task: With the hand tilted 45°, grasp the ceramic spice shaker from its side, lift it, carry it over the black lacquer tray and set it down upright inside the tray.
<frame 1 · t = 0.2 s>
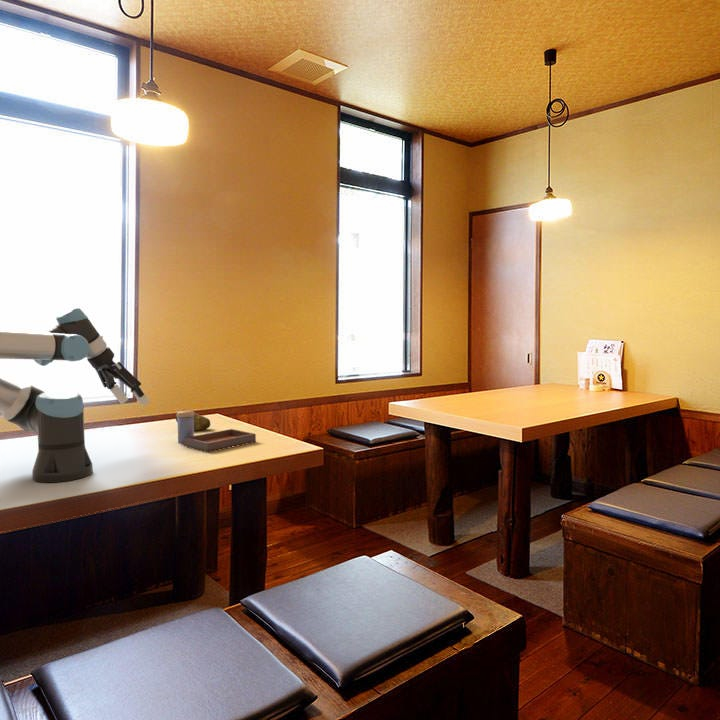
hand: (135, 402, 190), 16 cm above the table, tool tilted 35°, fingers open, 13 cm apart
potato: (192, 430, 225), on the table
tray: (220, 444, 200), on the table
shaker: (186, 442, 203), on the table
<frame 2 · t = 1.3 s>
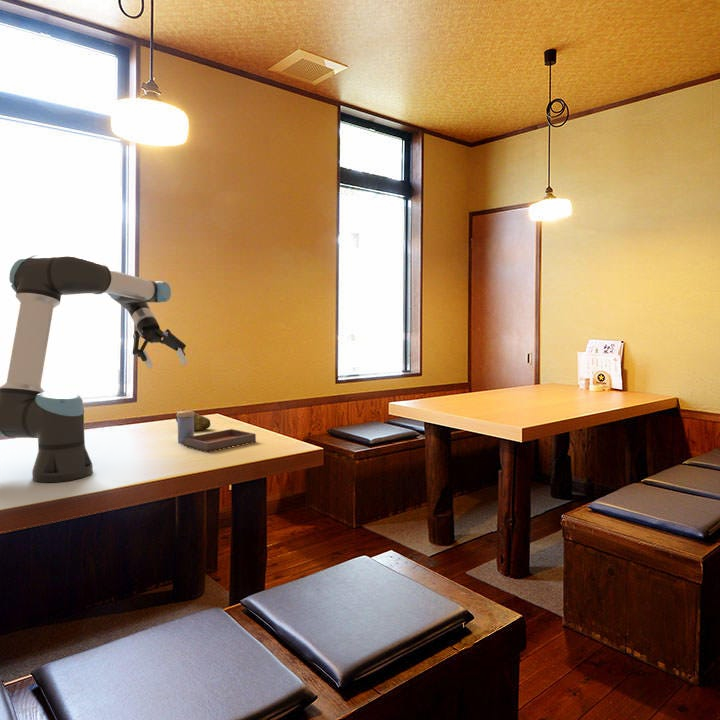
hand: (168, 365, 207), 27 cm above the table, tool tilted 45°, fingers open, 13 cm apart
nothing on the table moved.
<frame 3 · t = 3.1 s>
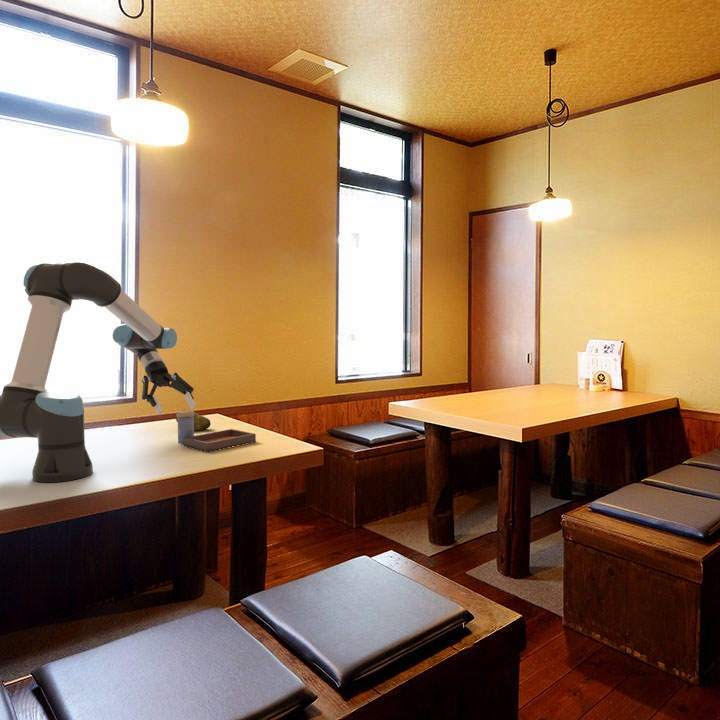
hand: (177, 410, 207), 11 cm above the table, tool tilted 45°, fingers open, 13 cm apart
nothing on the table moved.
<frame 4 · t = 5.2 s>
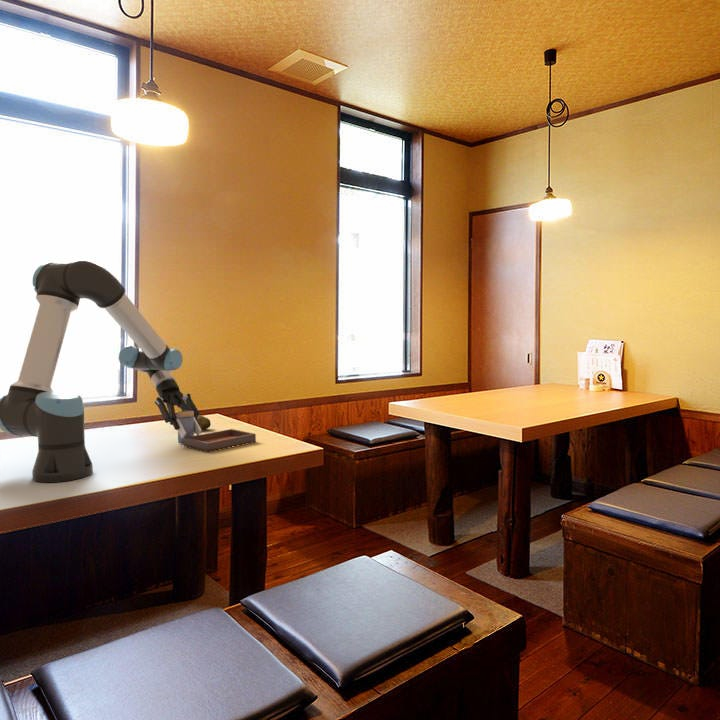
hand: (191, 434, 200), 3 cm above the table, tool tilted 45°, fingers closed on shaker, 5 cm apart
shaker: (186, 442, 203), on the table, touching gripper
everything else where it was.
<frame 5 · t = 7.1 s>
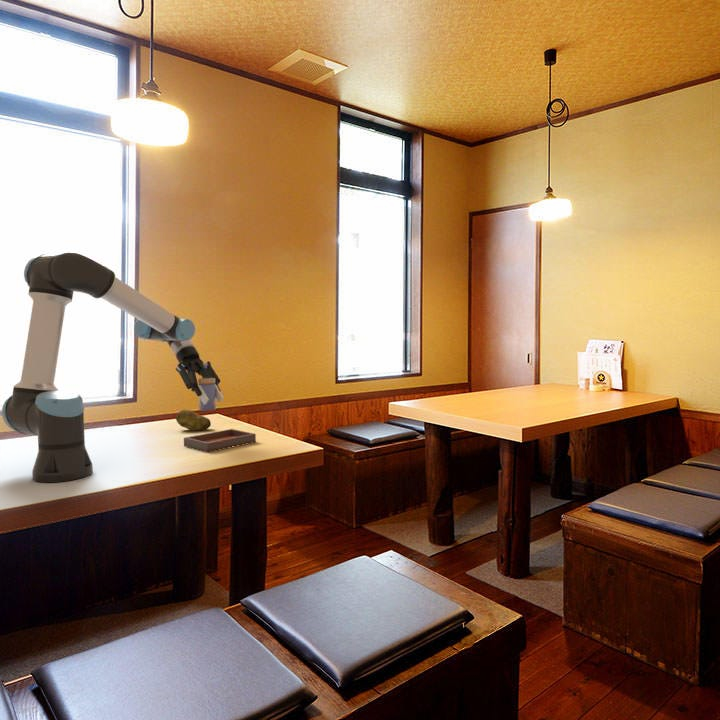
hand: (213, 401, 198), 15 cm above the table, tool tilted 45°, fingers closed on shaker, 5 cm apart
shaker: (207, 409, 201), point 12 cm above the table, touching gripper
everything else where it was.
when the fingers open (6 cm above the table, at t = 9.5 s): shaker drops 2 cm, resting on tray.
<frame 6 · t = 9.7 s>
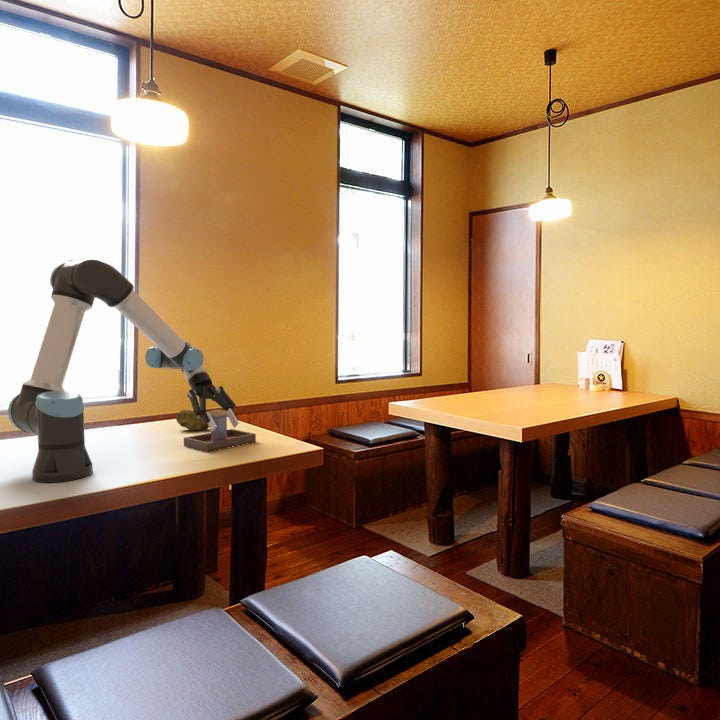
hand: (225, 427, 197), 7 cm above the table, tool tilted 45°, fingers open, 8 cm apart
shaker: (219, 442, 199), point 1 cm above the table, touching tray
everything else where it was.
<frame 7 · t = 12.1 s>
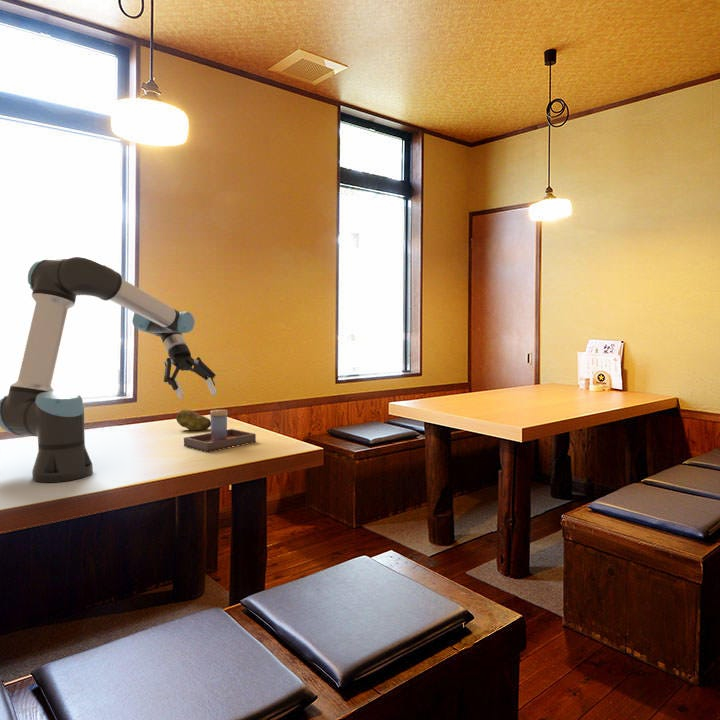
hand: (198, 395, 205), 16 cm above the table, tool tilted 40°, fingers open, 13 cm apart
nothing on the table moved.
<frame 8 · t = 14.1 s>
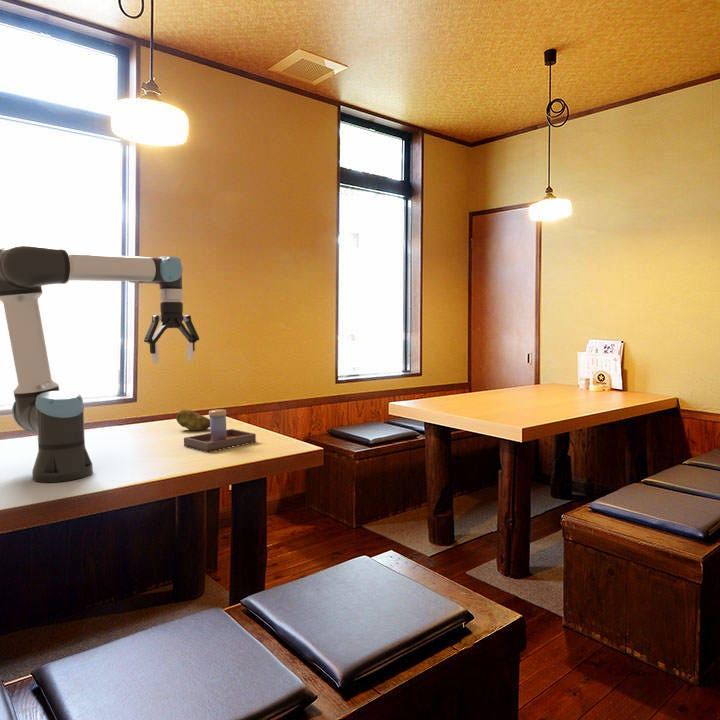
hand: (173, 361, 201), 29 cm above the table, tool pointing down, fingers open, 13 cm apart
nothing on the table moved.
at the end: shaker inside the target area on the tray (0.5 cm from its centre), point 0.9 cm above the tray's base; shaker tilted 2°; the gripper is holding nothing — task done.
